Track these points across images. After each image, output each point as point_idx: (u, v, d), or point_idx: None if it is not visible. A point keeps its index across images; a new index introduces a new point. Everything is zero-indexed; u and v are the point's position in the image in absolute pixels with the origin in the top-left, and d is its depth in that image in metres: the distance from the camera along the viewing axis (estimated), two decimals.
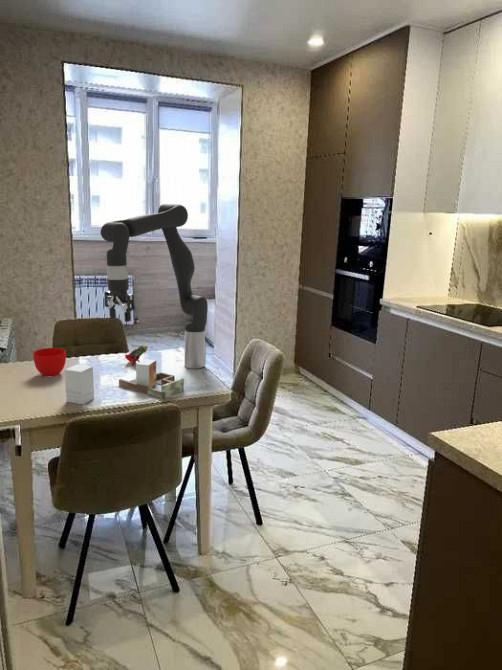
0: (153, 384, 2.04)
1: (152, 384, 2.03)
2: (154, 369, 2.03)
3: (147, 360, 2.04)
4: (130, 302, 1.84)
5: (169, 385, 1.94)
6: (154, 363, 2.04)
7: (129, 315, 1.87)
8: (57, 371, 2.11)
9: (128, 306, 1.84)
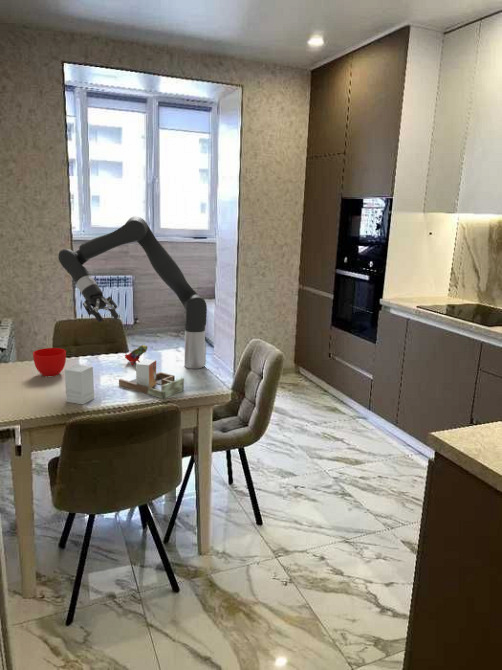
0: (153, 384, 2.04)
1: (152, 384, 2.03)
2: (154, 369, 2.03)
3: (147, 360, 2.04)
4: (86, 307, 2.04)
5: (169, 385, 1.94)
6: (154, 363, 2.04)
7: (96, 316, 2.05)
8: (57, 371, 2.11)
9: None
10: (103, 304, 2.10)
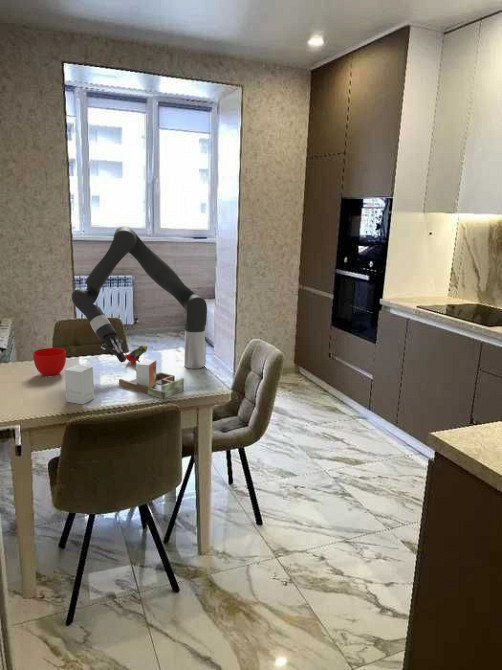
0: (153, 384, 2.04)
1: (152, 384, 2.03)
2: (154, 369, 2.03)
3: (147, 360, 2.04)
4: (106, 351, 2.07)
5: (169, 385, 1.94)
6: (154, 363, 2.04)
7: (118, 357, 2.08)
8: (57, 371, 2.11)
9: None
10: None
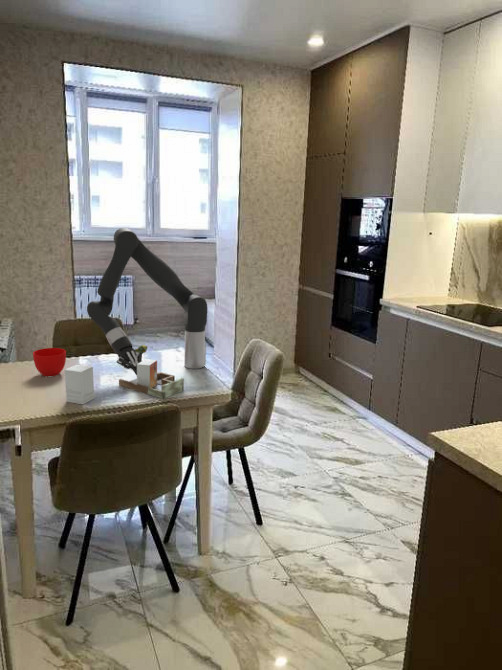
0: (154, 384, 2.04)
1: (153, 384, 2.03)
2: (154, 369, 2.03)
3: (148, 360, 2.04)
4: (123, 364, 2.03)
5: (169, 385, 1.94)
6: (155, 363, 2.04)
7: (135, 370, 2.04)
8: (57, 371, 2.11)
9: None
10: None
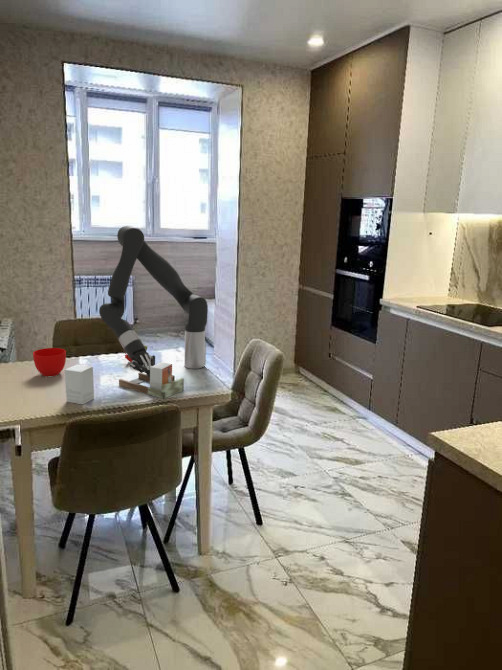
0: None
1: None
2: (168, 373, 1.99)
3: (163, 363, 2.00)
4: (136, 368, 1.99)
5: (169, 385, 1.94)
6: (170, 367, 1.99)
7: (148, 374, 2.00)
8: (57, 371, 2.11)
9: None
10: None
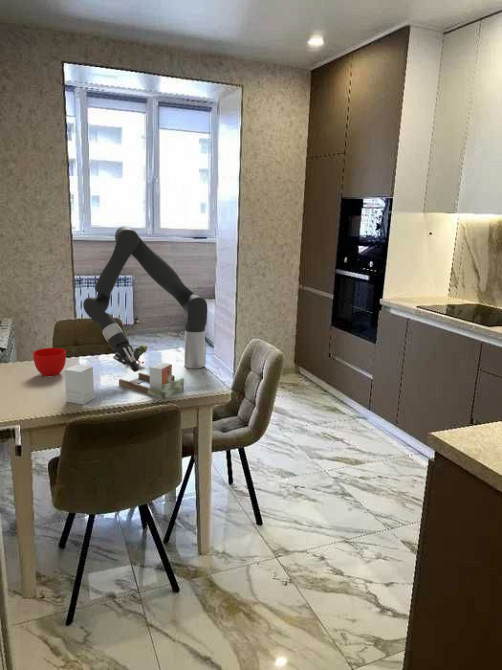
0: None
1: None
2: (168, 373, 1.99)
3: (162, 364, 2.00)
4: (119, 360, 2.03)
5: (169, 385, 1.94)
6: (169, 367, 1.99)
7: (131, 366, 2.05)
8: (57, 371, 2.11)
9: None
10: None
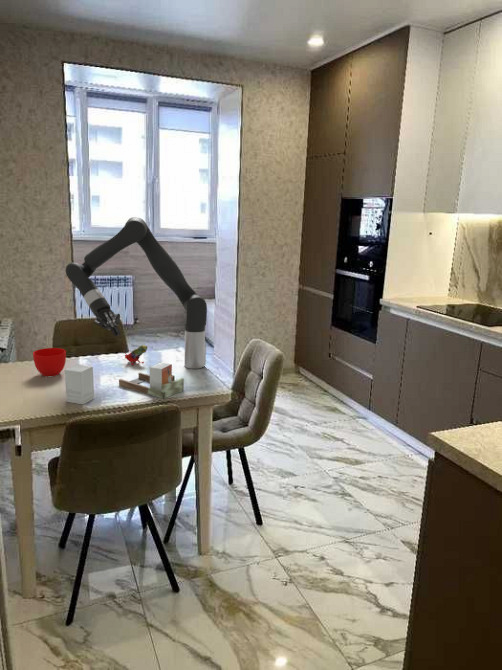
0: None
1: None
2: (168, 373, 1.99)
3: (162, 364, 2.00)
4: (100, 324, 2.06)
5: (169, 385, 1.94)
6: (169, 367, 1.99)
7: (112, 331, 2.07)
8: (57, 371, 2.11)
9: None
10: None
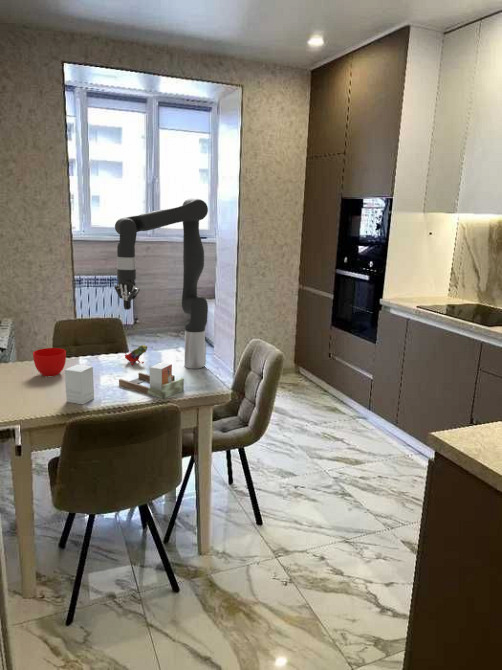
0: None
1: None
2: (168, 373, 1.99)
3: (162, 364, 2.00)
4: (134, 295, 2.07)
5: (169, 385, 1.94)
6: (169, 367, 1.99)
7: (129, 304, 2.10)
8: (57, 371, 2.11)
9: (130, 296, 2.07)
10: None
